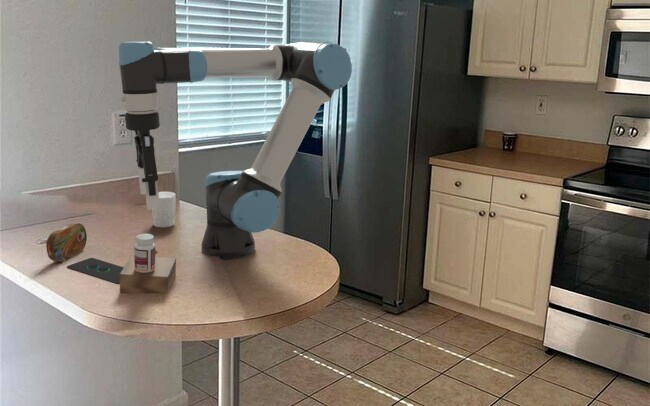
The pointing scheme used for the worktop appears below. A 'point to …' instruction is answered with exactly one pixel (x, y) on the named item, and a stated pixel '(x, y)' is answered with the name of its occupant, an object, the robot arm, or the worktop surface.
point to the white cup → (164, 210)
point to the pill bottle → (144, 253)
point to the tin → (66, 242)
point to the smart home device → (98, 269)
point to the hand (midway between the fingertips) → (149, 200)
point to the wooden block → (148, 277)
